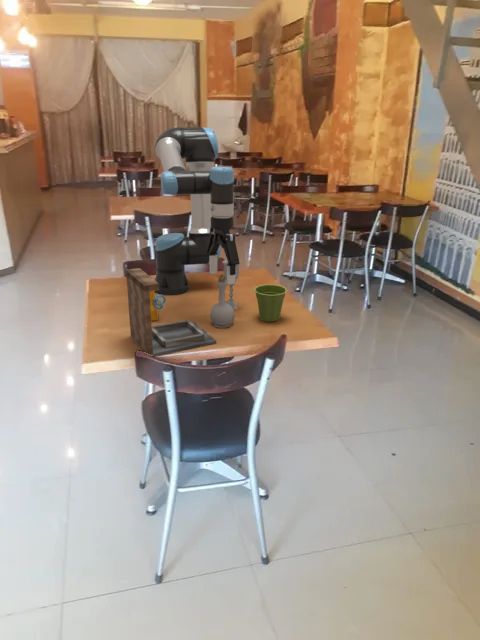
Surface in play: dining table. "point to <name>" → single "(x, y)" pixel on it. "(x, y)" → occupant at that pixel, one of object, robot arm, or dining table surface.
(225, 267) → the chalice
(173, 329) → the ledge nook
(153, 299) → the orange ring-handled vase
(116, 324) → the dining table surface
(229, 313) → the potion bottle
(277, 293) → the plant pot
